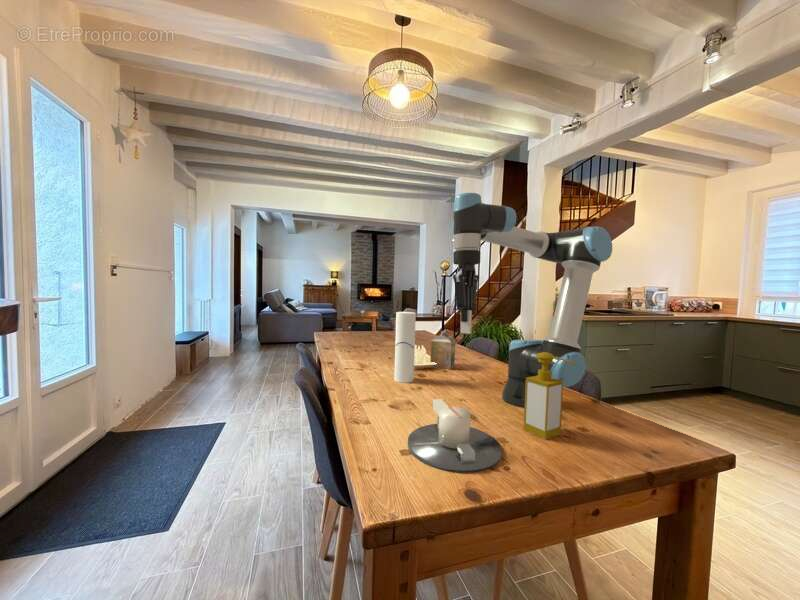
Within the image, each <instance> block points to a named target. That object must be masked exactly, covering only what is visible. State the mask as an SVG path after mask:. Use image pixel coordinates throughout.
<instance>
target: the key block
mask: <svg viewBox="0 0 800 600" xmlns="http://www.w3.org/2000/svg"><path fill="white" fill-rule="evenodd" d="M432 410H433V411H434V412H435V413H436V414H437V415H438V417H439V424H438V428H439V438H438V440H439V442H440V444H442V445H443V446H446V447H449V448H454V449H458V448H457V444H468V443H469V441H470V427H471V412H470V411H469V410H468V409H465V408H462V407H458V406H449V405H448V404H447V403H446V402H445V401H444V400H443V399H441V398H437V399H436V398H433V401H432ZM458 452H459V453H460V451H459V450H458ZM460 455H461V453H460Z"/></svg>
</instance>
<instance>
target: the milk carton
mask: <svg viewBox="0 0 800 600" xmlns="http://www.w3.org/2000/svg"><path fill="white" fill-rule="evenodd" d="M429 361H430V362H435V363H437V364H436V365H433V366H432V367H434V368H433V369H437V368H439V369H438V370H445V369H448V371H451V370H452V369H453V368H454V367H455V366H454V365H455V361H456V338H455V337H454V336H452V335H451V334H450V333H449V332H447V329H445V330H442V331H441V333H440V335H438V336H435V337H434V338H432V339H431V341H430V360H429ZM430 362H429V363H430ZM453 366H454V367H453ZM452 367H453V368H452Z"/></svg>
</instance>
